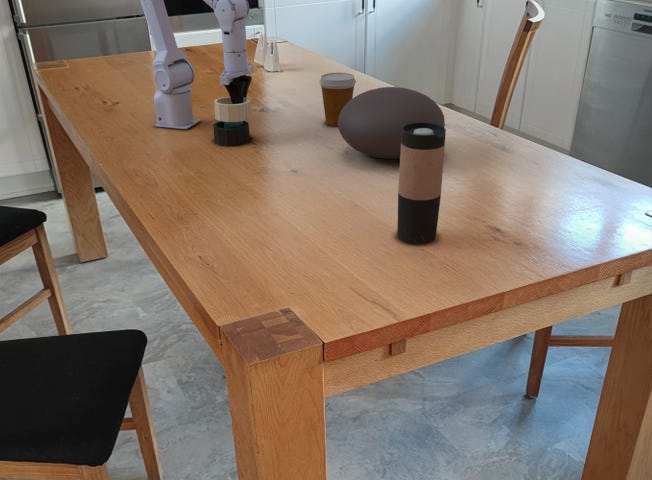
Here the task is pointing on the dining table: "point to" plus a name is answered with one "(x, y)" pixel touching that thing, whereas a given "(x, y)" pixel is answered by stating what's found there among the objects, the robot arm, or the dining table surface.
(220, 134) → the black ring
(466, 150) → the dining table surface
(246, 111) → the ivory ring
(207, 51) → the dining table surface
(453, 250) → the dining table surface
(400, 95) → the smooth stone
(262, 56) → the shaker set
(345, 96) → the disposable coffee cup
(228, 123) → the espresso cup
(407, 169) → the travel mug
